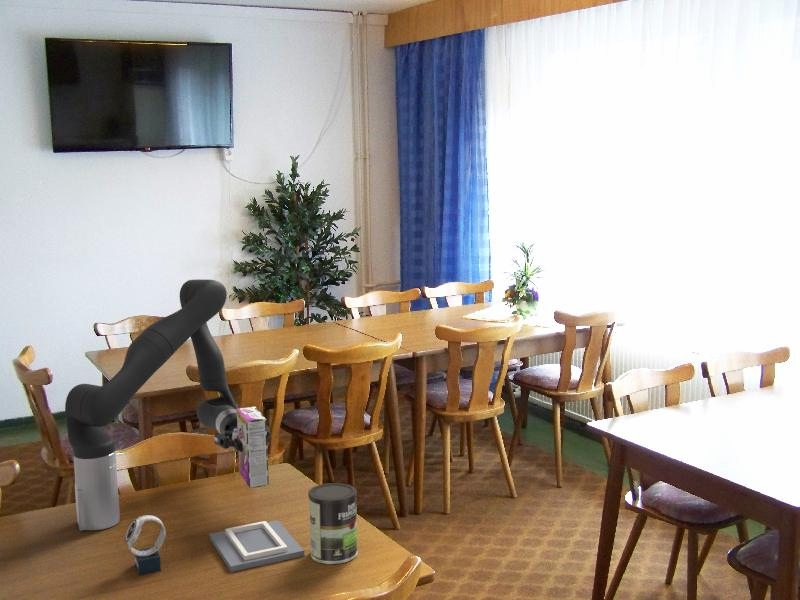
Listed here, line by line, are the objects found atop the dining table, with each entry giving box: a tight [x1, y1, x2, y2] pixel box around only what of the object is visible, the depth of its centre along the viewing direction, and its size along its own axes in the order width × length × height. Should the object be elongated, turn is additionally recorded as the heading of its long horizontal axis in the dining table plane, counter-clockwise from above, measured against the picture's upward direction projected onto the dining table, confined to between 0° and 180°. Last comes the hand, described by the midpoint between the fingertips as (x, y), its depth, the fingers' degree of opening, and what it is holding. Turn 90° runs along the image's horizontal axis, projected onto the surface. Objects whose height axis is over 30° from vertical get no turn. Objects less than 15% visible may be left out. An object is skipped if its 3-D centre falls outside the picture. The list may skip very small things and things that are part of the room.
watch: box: [124, 514, 167, 576], centre depth 174 cm, size 6×8×11 cm
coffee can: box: [307, 482, 359, 565], centre depth 180 cm, size 10×10×14 cm
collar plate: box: [209, 519, 305, 573], centre depth 184 cm, size 16×18×2 cm
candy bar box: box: [236, 406, 270, 489], centre depth 199 cm, size 11×5×16 cm, turn 23°
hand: (253, 445), depth 198 cm, fingers closed on candy bar box, 5 cm apart
